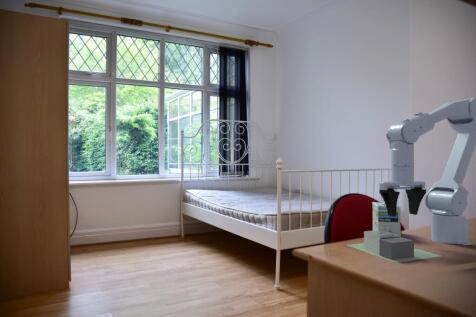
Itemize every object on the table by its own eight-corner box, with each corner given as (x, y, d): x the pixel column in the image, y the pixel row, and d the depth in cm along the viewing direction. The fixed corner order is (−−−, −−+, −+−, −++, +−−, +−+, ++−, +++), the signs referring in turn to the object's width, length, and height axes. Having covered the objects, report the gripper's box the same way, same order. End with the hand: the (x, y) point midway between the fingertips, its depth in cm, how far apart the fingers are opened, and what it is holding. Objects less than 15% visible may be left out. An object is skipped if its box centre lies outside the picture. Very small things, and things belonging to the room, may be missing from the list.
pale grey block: (381, 247, 96) (381, 229, 96) (397, 252, 90) (397, 234, 90) (364, 249, 94) (364, 231, 94) (380, 254, 88) (380, 236, 88)
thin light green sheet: (388, 243, 104) (388, 226, 104) (442, 260, 87) (442, 240, 87) (345, 248, 99) (345, 230, 99) (394, 266, 82) (394, 245, 82)
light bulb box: (401, 242, 106) (401, 206, 106) (377, 241, 108) (377, 205, 108) (393, 234, 117) (393, 202, 117) (371, 233, 118) (371, 201, 118)
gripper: (411, 165, 104) (411, 211, 104) (371, 166, 99) (371, 214, 99) (431, 166, 98) (431, 215, 98) (390, 166, 93) (390, 218, 93)
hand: (402, 215), depth 98 cm, fingers open, 7 cm apart
